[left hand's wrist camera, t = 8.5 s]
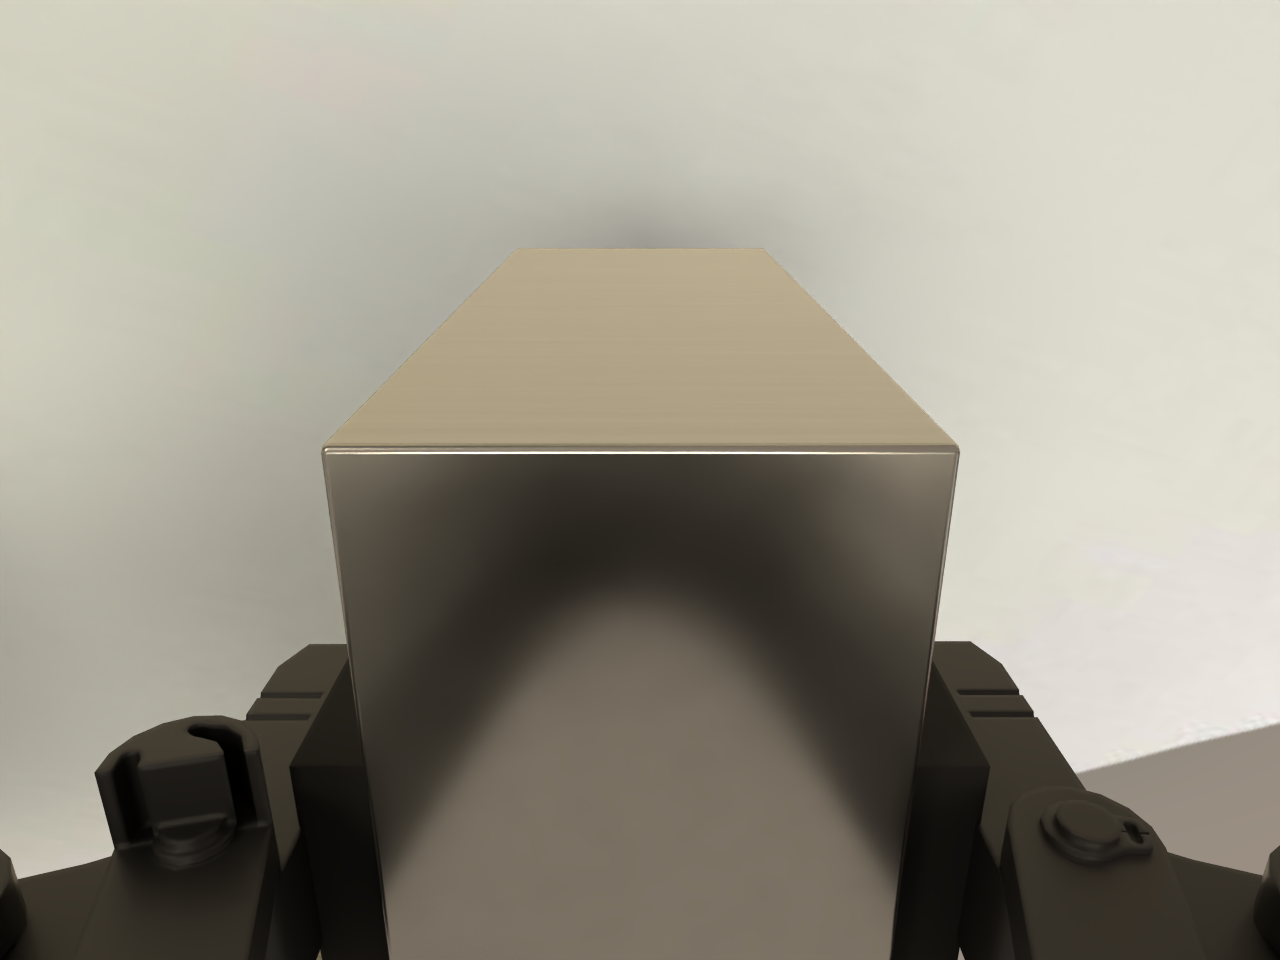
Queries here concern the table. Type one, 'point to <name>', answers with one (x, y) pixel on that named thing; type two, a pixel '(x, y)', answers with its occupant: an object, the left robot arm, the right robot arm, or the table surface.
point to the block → (640, 617)
